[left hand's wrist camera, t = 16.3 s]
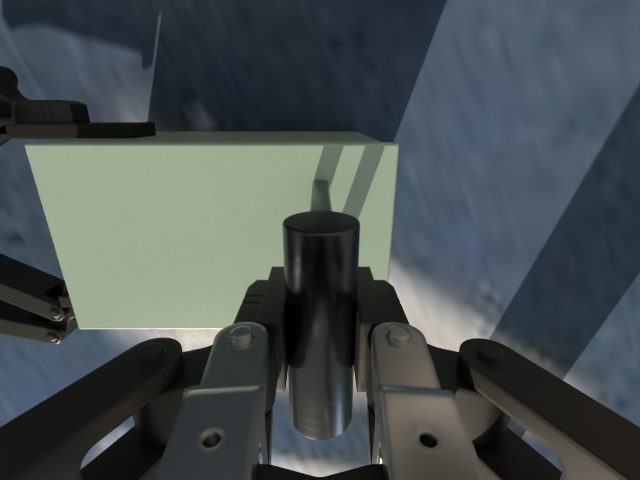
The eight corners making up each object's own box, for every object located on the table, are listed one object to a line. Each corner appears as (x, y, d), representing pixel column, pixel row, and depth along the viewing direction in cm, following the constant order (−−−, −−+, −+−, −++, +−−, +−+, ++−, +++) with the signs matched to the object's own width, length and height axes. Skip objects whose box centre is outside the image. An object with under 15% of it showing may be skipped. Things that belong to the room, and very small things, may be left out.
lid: (394, 141, 15) (476, 172, 7) (381, 319, 19) (427, 473, 11) (40, 142, 15) (-264, 173, 7) (90, 319, 19) (-83, 473, 11)
